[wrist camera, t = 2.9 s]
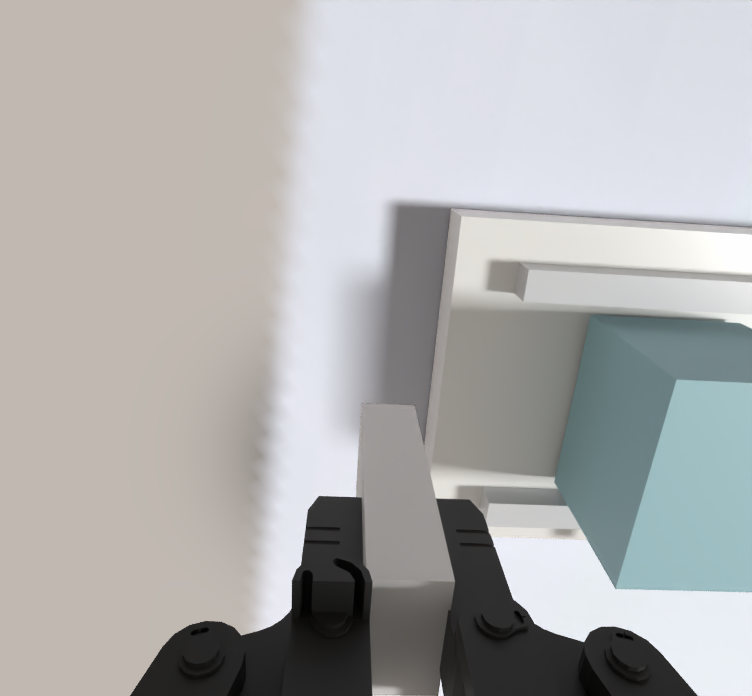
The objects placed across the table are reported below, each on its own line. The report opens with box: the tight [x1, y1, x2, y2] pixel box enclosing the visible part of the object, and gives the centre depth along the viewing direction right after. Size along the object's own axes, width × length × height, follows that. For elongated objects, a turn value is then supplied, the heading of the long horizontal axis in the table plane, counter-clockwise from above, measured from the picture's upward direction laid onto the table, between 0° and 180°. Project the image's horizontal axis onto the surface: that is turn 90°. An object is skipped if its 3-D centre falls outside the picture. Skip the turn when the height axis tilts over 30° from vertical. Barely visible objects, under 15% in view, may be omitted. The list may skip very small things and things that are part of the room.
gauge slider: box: [554, 315, 752, 592], centre depth 17 cm, size 9×9×5 cm
